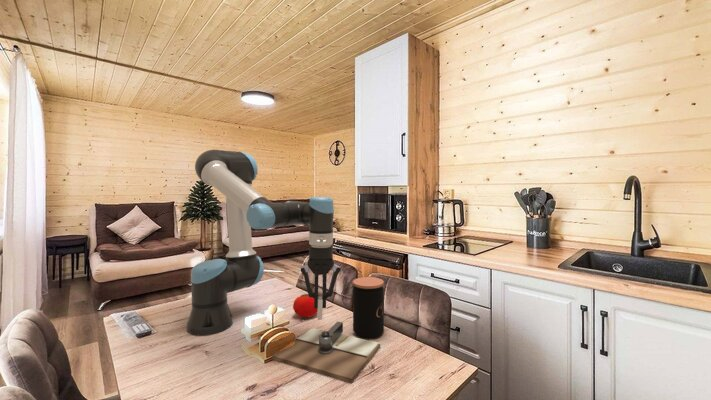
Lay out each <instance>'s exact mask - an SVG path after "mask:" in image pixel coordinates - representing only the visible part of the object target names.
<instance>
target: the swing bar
mask: <svg viewBox="0 0 711 400" xmlns="http://www.w3.org/2000/svg"><path fill="white" fill-rule="evenodd" d="M343 325H344V322H341V321H336V322H335V323H334V324H333V325H332V326H331V327H330V328H329V329H328V330H324V332H322V334H320V335H319V349H320V350H322V351H328V350H331V349H332V343H333V342H334V341H335V340H336V339H337V338H338V337H339V336H340V335H341V334H342V333H343V332H344V326H343Z"/></svg>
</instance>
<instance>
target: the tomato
mask: <svg viewBox="0 0 711 400" xmlns="http://www.w3.org/2000/svg"><path fill="white" fill-rule="evenodd" d="M292 309H293V311H294V314H296V315H297V316H299V317H302V318H310V317H313V316H315V315H316V314H318V309H315V308H314V298H312V297H309V295H308V293H303V294H301V295H300V296H298V297H296V298H295V300H294V301H293V304H292Z"/></svg>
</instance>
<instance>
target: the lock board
mask: <svg viewBox="0 0 711 400" xmlns="http://www.w3.org/2000/svg"><path fill="white" fill-rule="evenodd" d="M324 331H325V330H323V329H319V328H314V327H310V328H309V329H308V330H306V331H305V332H304V333H302V334H301V335H300V336H298V337H296V338H295V339H296V340H295V339H294V340H295V344H294V345H293V346H291V347H289V348H287V349H284V350H282V351H279V350H278V351H279V352H278V351H277V352H275V353H273V354H272V355H271V360H272V361H274V362H275V361H276V362H278V363H281V364H285V365H289V366H291V367H296V368H299V369H303V370H306V371H309V372H312V373H315V374H319V375H321V376H326V377H329V378H333V379H335V380H339V381H342V382H346V383H349V384H352V383H353V382H354V381H355V380H356V378H358V376H359V375H360V373H362V371H363V370H364V368H365V367H366V366H367V365H368V363H369V362H370V361H371V360H372V359H373V357H374V356H375V355H376V353H378V351H379V350H380V349H381V344H380V343H379V342H377V341H373V340H369V339H364V338H360V337H355V336H351V335H345V334H342V333H341V335H340V336H339V337H338V338H337V339H336V340H335V341H334V342H333V343H332V349H331V350H328V351H322V350H320V349H319V335H320V334H322V332H324Z"/></svg>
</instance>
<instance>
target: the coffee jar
mask: <svg viewBox="0 0 711 400" xmlns="http://www.w3.org/2000/svg"><path fill="white" fill-rule="evenodd" d="M352 285H353V288H352V314H353V315H352V327H353V328H352V330H353V333H354V334H355V336H356V337H357V338H360V339H364V340H375V339H378V338H380V337H381V336H382V334H383V333H384V331H385V303H384V302H385V292H384V291H385V290H384V287H383V286H384V285H385V284H384V280H383V279H382V278H378V277H374V276H373V277H372V276H366V277H365V276H364V277H358V278H355V279H354V280H352Z"/></svg>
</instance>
